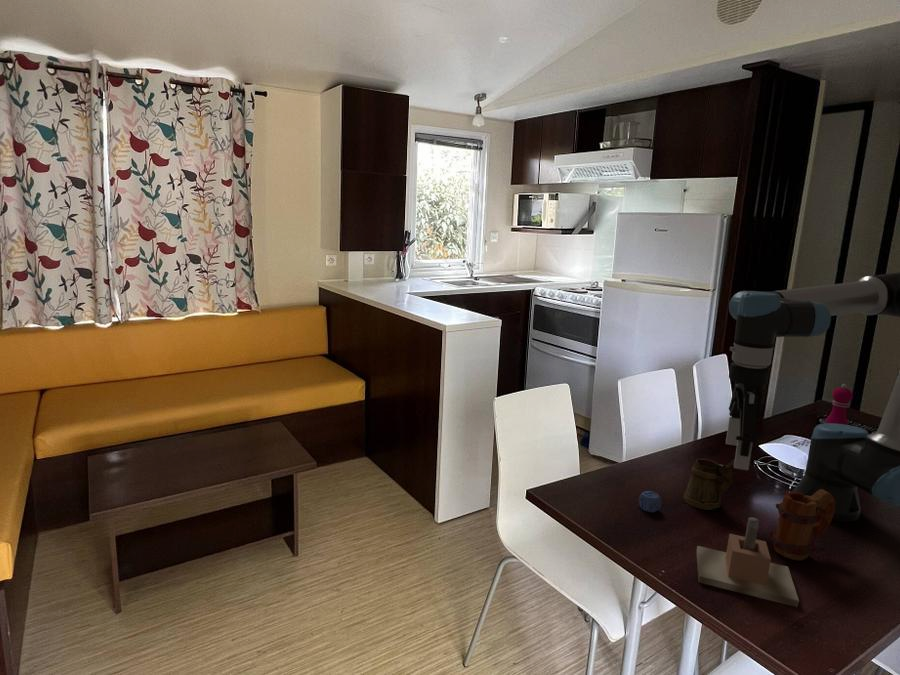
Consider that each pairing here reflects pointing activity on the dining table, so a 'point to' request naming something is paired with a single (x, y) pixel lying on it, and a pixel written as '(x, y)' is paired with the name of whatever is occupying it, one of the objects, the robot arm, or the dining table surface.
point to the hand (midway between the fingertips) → (736, 456)
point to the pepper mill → (840, 405)
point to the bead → (747, 560)
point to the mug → (801, 523)
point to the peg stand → (716, 575)
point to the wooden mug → (707, 484)
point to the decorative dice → (650, 501)
